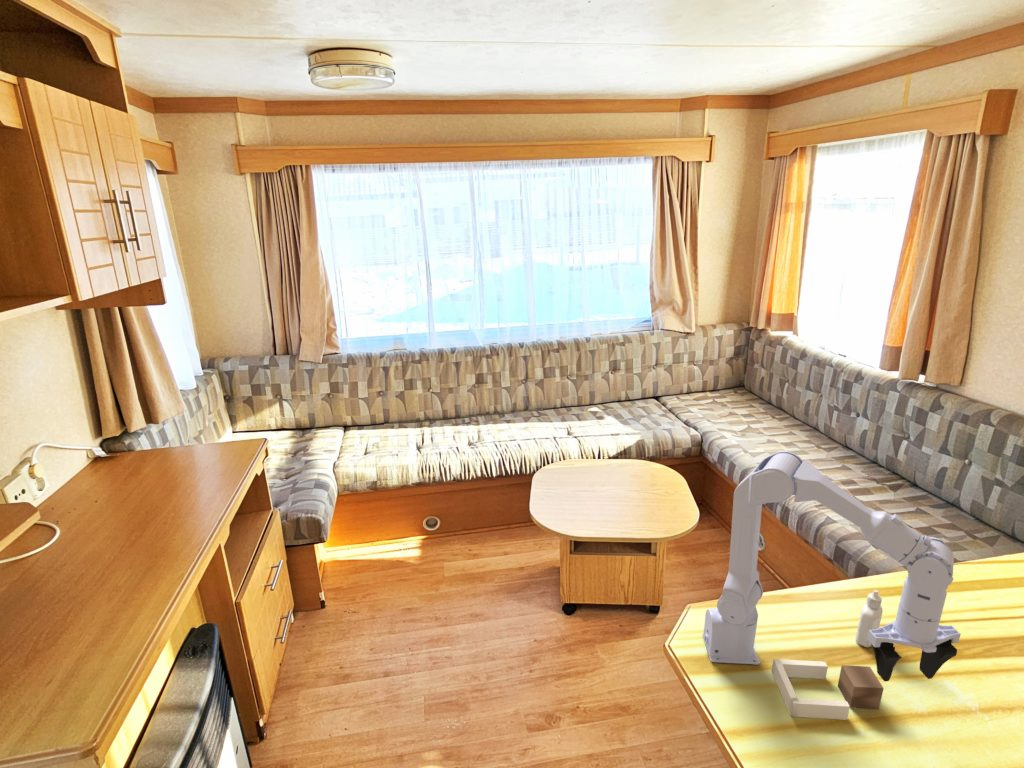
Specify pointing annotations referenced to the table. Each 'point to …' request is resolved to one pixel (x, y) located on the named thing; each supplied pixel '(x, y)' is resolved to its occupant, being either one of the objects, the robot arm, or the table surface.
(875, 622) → the eye dropper bottle
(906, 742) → the table surface
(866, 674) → the walnut cube
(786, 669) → the dock
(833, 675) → the table surface
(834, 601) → the table surface
